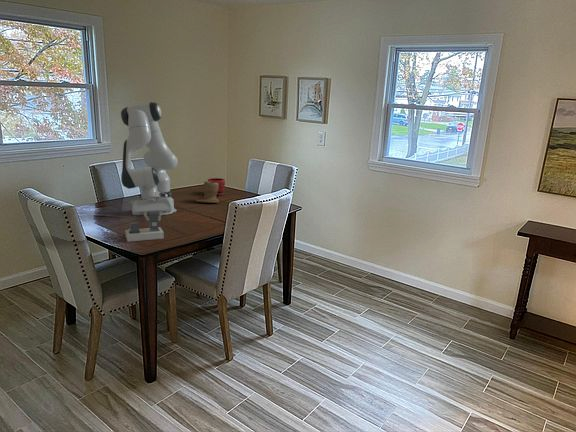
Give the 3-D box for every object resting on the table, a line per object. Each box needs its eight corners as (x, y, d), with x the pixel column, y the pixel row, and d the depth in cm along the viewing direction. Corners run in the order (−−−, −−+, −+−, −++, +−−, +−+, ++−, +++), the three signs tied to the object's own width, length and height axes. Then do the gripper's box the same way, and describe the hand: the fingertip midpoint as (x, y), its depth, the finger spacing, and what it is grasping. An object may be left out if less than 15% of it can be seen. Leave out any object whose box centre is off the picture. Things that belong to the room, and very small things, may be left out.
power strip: (123, 230, 237) (122, 215, 234) (157, 227, 245) (157, 213, 242) (127, 241, 220) (127, 225, 218) (163, 238, 228) (163, 223, 226)
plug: (149, 228, 229) (149, 211, 227) (157, 227, 231) (156, 211, 229) (150, 229, 227) (150, 213, 224) (158, 229, 228) (158, 212, 226)
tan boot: (220, 200, 313) (220, 180, 309) (217, 204, 302) (218, 183, 297) (199, 199, 312) (199, 179, 308) (196, 203, 301) (196, 182, 297)
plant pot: (228, 194, 332) (228, 179, 329) (216, 197, 322) (217, 181, 318) (215, 191, 339) (215, 176, 336) (203, 194, 328) (203, 178, 325)
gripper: (130, 195, 226) (133, 218, 220) (170, 194, 235) (174, 216, 229) (129, 201, 231) (132, 224, 225) (168, 199, 240) (172, 221, 234)
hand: (153, 220), depth 227 cm, fingers closed on plug, 4 cm apart
